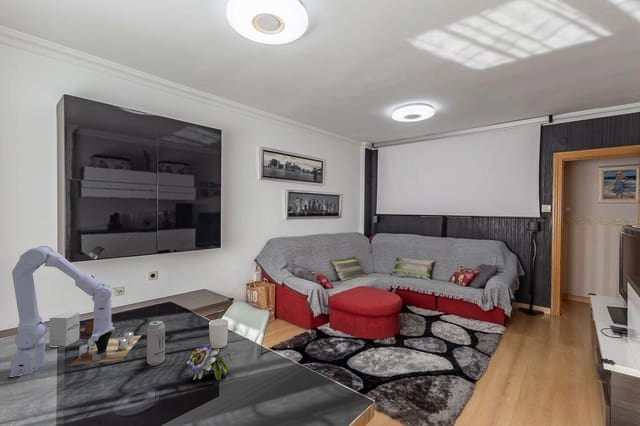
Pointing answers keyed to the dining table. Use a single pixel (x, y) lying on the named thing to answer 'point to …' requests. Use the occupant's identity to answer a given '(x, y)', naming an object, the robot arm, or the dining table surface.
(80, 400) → the dining table surface
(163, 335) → the energy drink can
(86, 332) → the cup and saucer
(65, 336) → the supplement box
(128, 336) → the spacers
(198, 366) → the passion flower
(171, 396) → the dining table surface
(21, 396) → the dining table surface
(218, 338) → the white cup
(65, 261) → the robot arm
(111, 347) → the board
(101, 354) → the nut
